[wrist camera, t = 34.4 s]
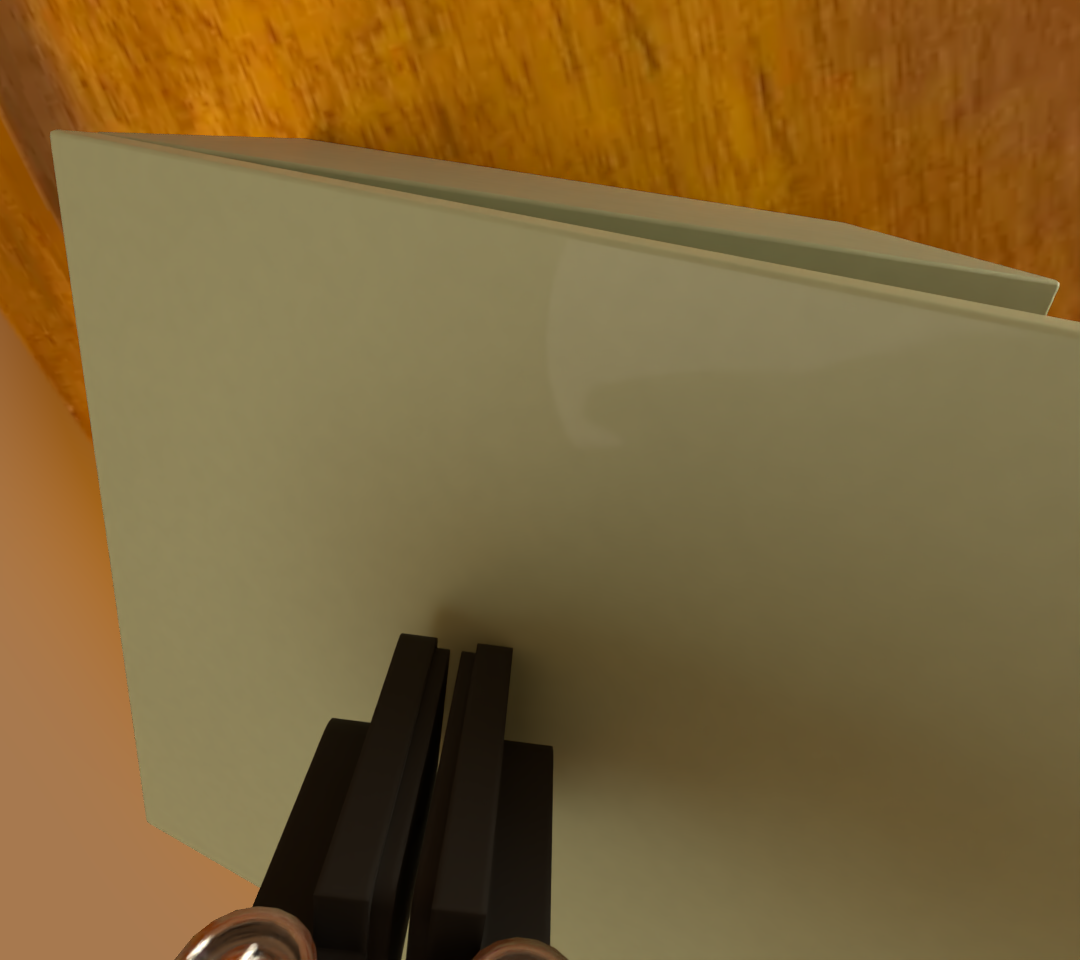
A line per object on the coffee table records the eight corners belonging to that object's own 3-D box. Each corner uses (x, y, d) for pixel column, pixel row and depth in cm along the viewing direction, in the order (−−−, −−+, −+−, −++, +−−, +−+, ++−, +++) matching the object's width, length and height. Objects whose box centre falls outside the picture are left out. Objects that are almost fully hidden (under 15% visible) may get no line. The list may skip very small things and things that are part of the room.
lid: (1507, 402, 6) (1591, 430, 5) (891, 1200, 12) (893, 1259, 11) (96, 131, 11) (45, 128, 10) (173, 798, 17) (145, 823, 16)
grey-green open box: (845, 222, 20) (1064, 281, 11) (719, 630, 26) (797, 873, 18) (302, 138, 20) (90, 130, 11) (304, 574, 26) (169, 794, 17)
